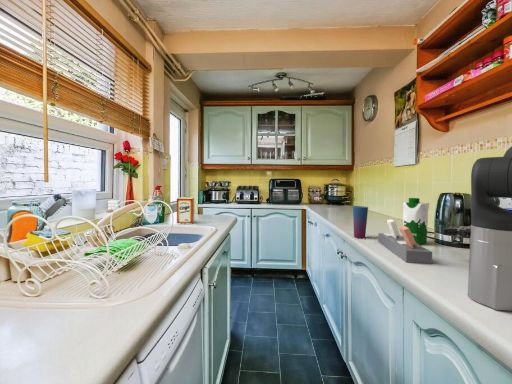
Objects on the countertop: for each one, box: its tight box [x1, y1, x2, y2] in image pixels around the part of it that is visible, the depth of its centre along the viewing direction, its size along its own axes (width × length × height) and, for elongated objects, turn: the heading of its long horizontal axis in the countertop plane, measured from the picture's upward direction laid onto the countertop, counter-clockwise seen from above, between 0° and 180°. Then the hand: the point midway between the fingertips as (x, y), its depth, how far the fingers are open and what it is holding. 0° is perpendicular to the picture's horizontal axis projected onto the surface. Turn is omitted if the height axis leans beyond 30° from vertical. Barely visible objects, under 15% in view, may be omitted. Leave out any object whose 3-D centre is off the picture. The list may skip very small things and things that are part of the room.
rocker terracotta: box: [398, 225, 417, 248], centre depth 89 cm, size 4×2×7 cm, turn 172°
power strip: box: [377, 232, 433, 265], centre depth 101 cm, size 35×8×4 cm, turn 172°
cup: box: [352, 205, 369, 239], centre depth 121 cm, size 7×7×15 cm
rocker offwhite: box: [386, 219, 401, 239], centre depth 102 cm, size 4×2×7 cm, turn 172°
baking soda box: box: [176, 196, 195, 224], centre depth 157 cm, size 10×6×16 cm
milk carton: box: [402, 197, 430, 246], centre depth 111 cm, size 9×9×20 cm
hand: (443, 231), depth 87 cm, fingers closed
